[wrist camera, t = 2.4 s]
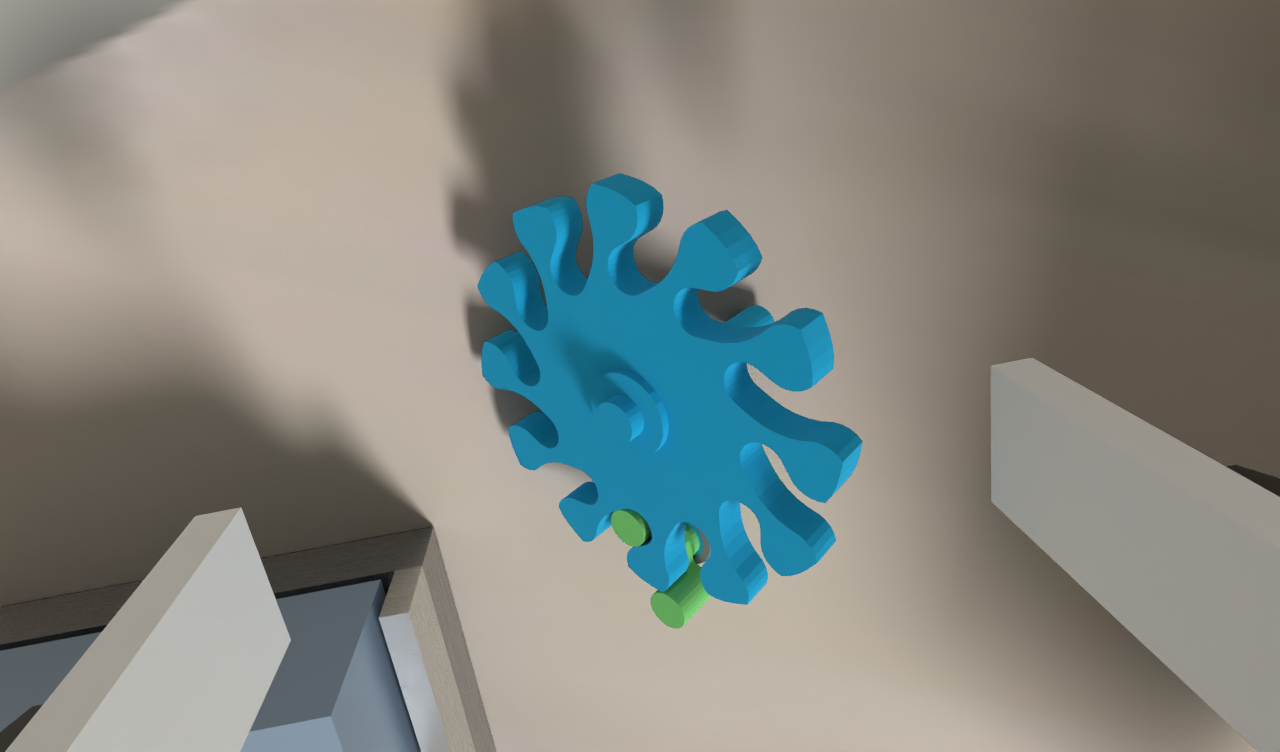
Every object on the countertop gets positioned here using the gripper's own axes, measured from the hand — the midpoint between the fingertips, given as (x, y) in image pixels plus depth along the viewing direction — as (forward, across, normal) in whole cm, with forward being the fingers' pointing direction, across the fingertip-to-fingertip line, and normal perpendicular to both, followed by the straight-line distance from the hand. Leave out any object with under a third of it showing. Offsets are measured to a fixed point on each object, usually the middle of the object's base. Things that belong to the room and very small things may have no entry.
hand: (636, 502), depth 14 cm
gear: (+8, -1, 0) cm, 8 cm away
